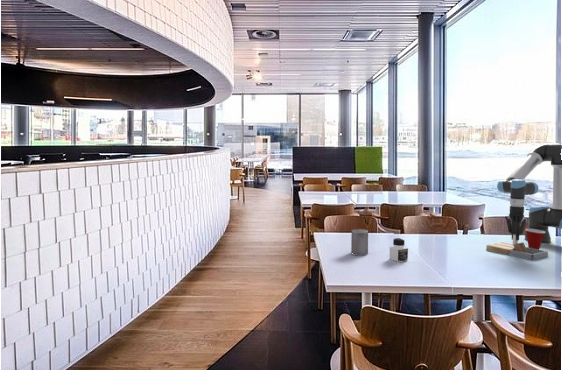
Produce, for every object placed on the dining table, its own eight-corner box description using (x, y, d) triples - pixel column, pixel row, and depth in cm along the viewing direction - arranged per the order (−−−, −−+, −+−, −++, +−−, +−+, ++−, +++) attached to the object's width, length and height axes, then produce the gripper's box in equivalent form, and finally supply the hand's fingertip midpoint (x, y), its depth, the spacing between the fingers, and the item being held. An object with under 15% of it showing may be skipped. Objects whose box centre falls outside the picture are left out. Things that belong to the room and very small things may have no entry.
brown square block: (519, 243, 267) (523, 242, 265) (523, 253, 265) (527, 252, 263) (513, 245, 264) (517, 243, 262) (517, 254, 262) (522, 253, 260)
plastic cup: (547, 251, 270) (548, 231, 268) (527, 250, 272) (528, 231, 271) (540, 247, 280) (541, 228, 279) (521, 246, 282) (522, 227, 281)
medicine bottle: (398, 262, 245) (398, 240, 244) (389, 259, 252) (389, 238, 251) (407, 260, 249) (408, 239, 248) (398, 257, 255) (399, 236, 254)
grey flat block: (523, 251, 270) (523, 246, 270) (547, 256, 258) (547, 251, 258) (508, 254, 262) (509, 249, 262) (532, 260, 250) (533, 254, 250)
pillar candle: (355, 250, 271) (355, 226, 269) (370, 253, 265) (371, 228, 264) (348, 254, 263) (348, 229, 262) (363, 256, 257) (363, 230, 256)
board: (502, 246, 282) (502, 242, 282) (524, 251, 270) (524, 246, 270) (486, 250, 274) (486, 245, 273) (508, 254, 262) (508, 249, 262)
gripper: (502, 205, 268) (500, 244, 270) (524, 207, 257) (522, 248, 259) (510, 204, 272) (508, 242, 274) (531, 206, 261) (529, 246, 263)
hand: (515, 245), depth 266 cm, fingers closed
